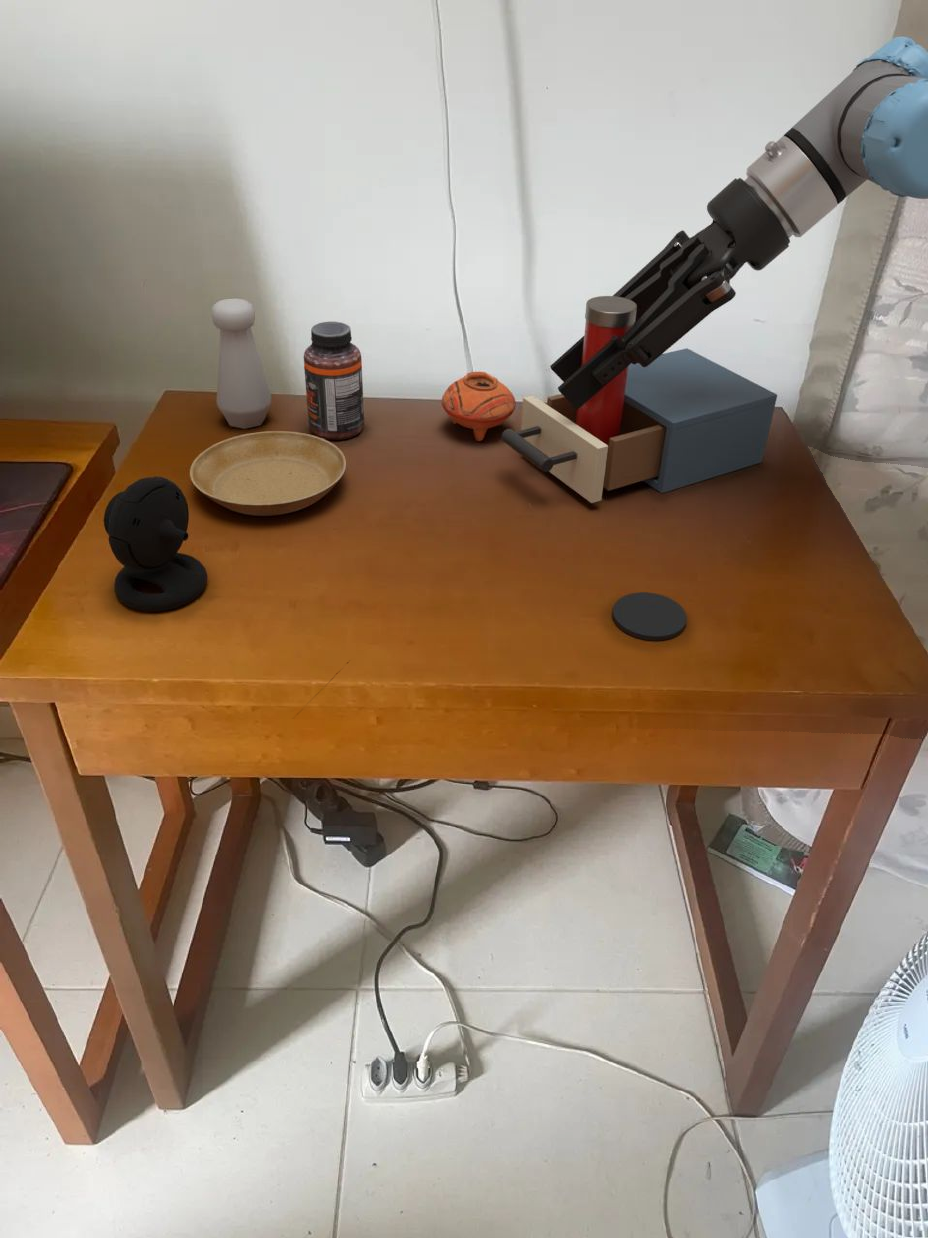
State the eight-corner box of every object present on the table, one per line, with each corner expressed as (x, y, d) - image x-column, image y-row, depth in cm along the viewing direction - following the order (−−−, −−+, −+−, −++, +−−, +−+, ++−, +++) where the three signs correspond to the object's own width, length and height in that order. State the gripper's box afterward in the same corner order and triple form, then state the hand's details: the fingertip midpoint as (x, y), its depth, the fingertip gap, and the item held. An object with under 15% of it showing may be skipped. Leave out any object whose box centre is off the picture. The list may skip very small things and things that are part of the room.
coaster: (692, 606, 82) (693, 601, 82) (678, 648, 77) (678, 643, 77) (621, 590, 84) (622, 585, 83) (604, 630, 79) (604, 625, 79)
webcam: (159, 552, 86) (139, 450, 80) (227, 576, 84) (211, 472, 78) (94, 598, 81) (67, 491, 75) (165, 625, 78) (143, 517, 72)
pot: (483, 403, 111) (495, 352, 106) (520, 445, 107) (535, 394, 103) (423, 416, 108) (432, 364, 103) (458, 460, 104) (470, 408, 99)
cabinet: (661, 493, 97) (673, 423, 92) (579, 437, 106) (586, 371, 101) (762, 462, 103) (777, 394, 98) (676, 412, 112) (687, 347, 107)
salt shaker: (279, 411, 109) (268, 294, 102) (264, 434, 105) (251, 314, 97) (228, 406, 110) (213, 290, 102) (211, 429, 105) (194, 310, 97)
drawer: (555, 514, 91) (560, 458, 88) (485, 458, 100) (487, 405, 96) (691, 473, 98) (701, 419, 95) (615, 424, 107) (621, 373, 103)
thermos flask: (624, 438, 99) (642, 299, 91) (612, 457, 95) (630, 315, 87) (580, 429, 100) (593, 292, 92) (567, 448, 97) (580, 308, 88)
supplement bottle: (301, 422, 107) (293, 321, 100) (353, 413, 109) (348, 313, 102) (319, 446, 103) (311, 341, 96) (372, 436, 105) (368, 333, 98)
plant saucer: (171, 522, 90) (166, 497, 89) (220, 448, 102) (217, 425, 100) (328, 535, 89) (326, 510, 88) (360, 458, 101) (359, 435, 99)
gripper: (715, 151, 90) (526, 327, 99) (776, 201, 77) (550, 400, 85) (760, 212, 94) (573, 376, 103) (826, 270, 80) (604, 454, 89)
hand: (563, 387), depth 94 cm, fingers closed on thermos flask, 4 cm apart
